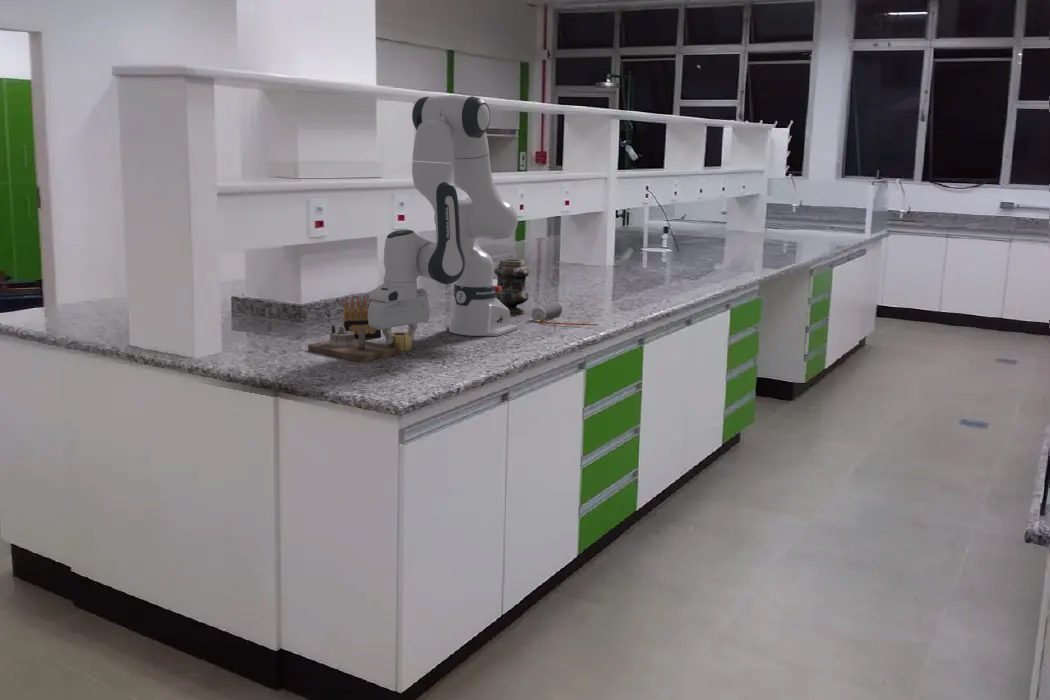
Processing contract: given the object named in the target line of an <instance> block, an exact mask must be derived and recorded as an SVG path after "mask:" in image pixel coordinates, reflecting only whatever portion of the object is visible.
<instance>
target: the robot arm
mask: <svg viewBox="0 0 1050 700" xmlns="http://www.w3.org/2000/svg"><path fill="white" fill-rule="evenodd" d="M411 120H412V123H413V127H414V129H415V130H416V132H415V137H414V142H413V150H412V160H411V161H412V162H411V163H412V165H411V166H412V167H411V168H412V169H411V172H412V173H411V174H412V180H413V181H412V182H413V185H414V187H415V189H416V190H417V191H418V192H419V193H420V195H422V196H423V197H425V198H426V199H427V201H428V203H430V205H431V207H432V209H433V212H434V218H433V220H434V224H435V225H434V226H435V239H436V240H435V241H436V242H432V241H430V240H427V239H426V238H424V237H422V236H420V235H418V234H417V232H415V230H412V229H411V230H410V229H400V230H395V231H392V232H389V234H388V235H387V236H386V238H385V240H384V248H383V249H384V250H383V267H384V276H383V283H382V284H380V285H379V286H378V287H376V288H375V289H372V290H370V291H369V294H368V298H369V300H370V299H371V300H372V301H371V302H370V304H369V303H368V308H367V310H368V324H369V326H370V328H372V329H376V330H382V332H381V333H382V334H383V336H384V338H385V344H387V345H388V344H393V343H394V337H392V336H391V334H390V333H392V329H393V328H397V327H398V328H400V327H403V326H408V327H409V328H408V331H407V333H411V341H413V340H415V333H416V330H417V328H418V324H421V323H427V322H428V321H429V319H430V317H431V316H430V313H431V312H430V303H429V298H428V292H427V290H426V289H424V288H422V287H421V288H418V287H417V286H418V285H417V284H418V277H419V276H421V277H425V278H426V279H429V280H434V281H436V282H438V283H440V284H444V285H451V284H453V283H455V284H454V285H453V297H454V300H453V303H452V306H451V307H452V308H451V314H450V315H451V316H450V323H448V326H447V327H448V332H450V333H452V334H456V335H461V336H471V337H472V336H476V337H477V336H479V337H480V336H481V337H483V336H485V337H486V336H487V337H497V336H498V335H499V336H502V335H505V334H507V333H510V332H513V331H517V330H518V329H519V325H517V324H514V323H511V315H510V311H509V309H508V308H507V307H506V306H505V305H503V304H502V303H501V302H500V301H499V300H498V299H497V298H496V292H498V293H500V292H501V291H502V289H501V288H502V287H501V286H497V285H493V283H494V281H493V280H494V279H493V278H494V262H493V258H492V257H491V256H490V254H489V253H487V252H486V251H485V250H483V249H482V248H481V247H480V245H479V242H478V239H479V240H480V239H482V240H494V241H495V240H496V241H497V240H503V239H508V238H511V237H512V236H513V235H514V234H515V232H516V230H517V228H518V223H519V218H518V214H517V212H516V211H517V210H515V208H514V207H513V205H511V204H510V203H509V202H508V201H506V199H505V198H503V197H502V194H500V193H499V191H498V188H497V187H496V185H495V182H494V180H493V179H494V178H493V175H492V168H491V160H490V148H489V141H488V140H489V139H488V135H487V130H488V128H489V126H490V123H491V111H490V107H489V105H488V104H487V102H486V101H485V99H482V98H481V97H478V96H472V95H471V96H465V95H456V94H449V95H437V96H436V95H435V96H432V95H428V96H423V97H420V98H419V99H417V101H416V102H415V103H414V105H413V107H412V111H411ZM456 187H457V188H458V189H460V190H462V191H463V192H465V194H466V195H467V196H468V198H469V199H459V198H458V193H457V189H456Z"/></svg>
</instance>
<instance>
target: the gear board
mask: <svg viewBox="0 0 1050 700" xmlns="http://www.w3.org/2000/svg"><path fill="white" fill-rule="evenodd" d="M338 329H339V330H336V325H331V331H330V333H329V335H330V336H329V337H330V338H329V340H327V341H321V342H317V343H310V344H307V347H308V348H307V350H308V351H310V352H313V353H314V352H315V353H318V354H323V355H327V356H332V357H335V358H341V359H344V360H348V361H353V362H357V363H364V362H369V361H373V360H379V359H384V358H389V357H393V356H394V357H395V356H397V355H400V354H401V351H400V349H399V348H394V347H390V346H388V345H383V344H379V343H376V342H375V343H374V342H371V341H366V338H365V328H364V327H360V328H359V338H356V339H354V332H350V330H349V331H345V327H343V325H342V326H340V327H338Z"/></svg>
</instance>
